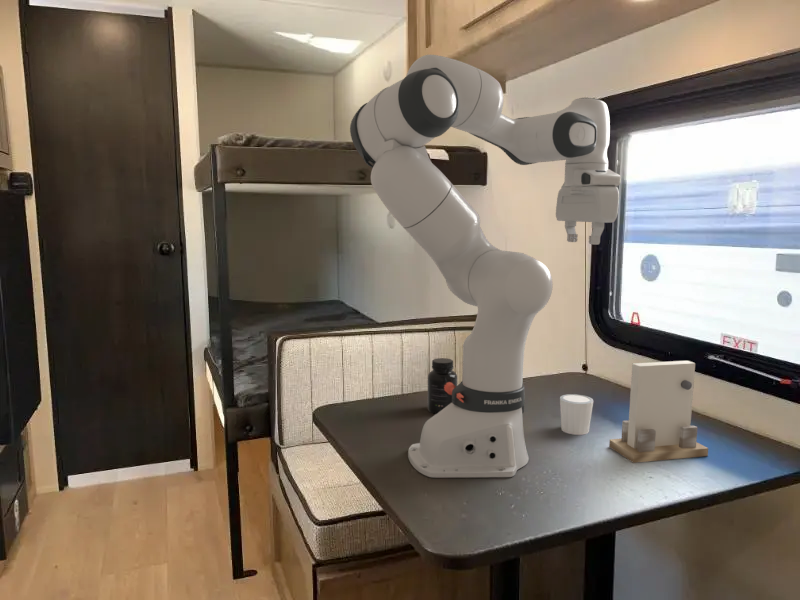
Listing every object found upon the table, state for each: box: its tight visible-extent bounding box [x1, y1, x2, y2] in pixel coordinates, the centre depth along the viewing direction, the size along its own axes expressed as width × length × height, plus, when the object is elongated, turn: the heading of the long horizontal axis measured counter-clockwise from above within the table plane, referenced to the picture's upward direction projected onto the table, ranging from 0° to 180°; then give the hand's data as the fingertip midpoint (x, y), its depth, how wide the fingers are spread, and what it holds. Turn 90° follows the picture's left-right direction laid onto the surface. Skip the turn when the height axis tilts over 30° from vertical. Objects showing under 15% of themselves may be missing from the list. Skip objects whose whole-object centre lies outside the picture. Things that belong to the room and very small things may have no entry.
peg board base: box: [608, 419, 709, 464], centre depth 119 cm, size 16×8×6 cm, turn 103°
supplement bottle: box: [427, 357, 458, 415], centre depth 142 cm, size 7×7×12 cm
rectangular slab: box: [627, 360, 696, 448], centre depth 118 cm, size 12×3×16 cm, turn 103°
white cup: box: [559, 393, 594, 436], centre depth 131 cm, size 7×7×7 cm
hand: (582, 243), depth 134 cm, fingers open, 8 cm apart
